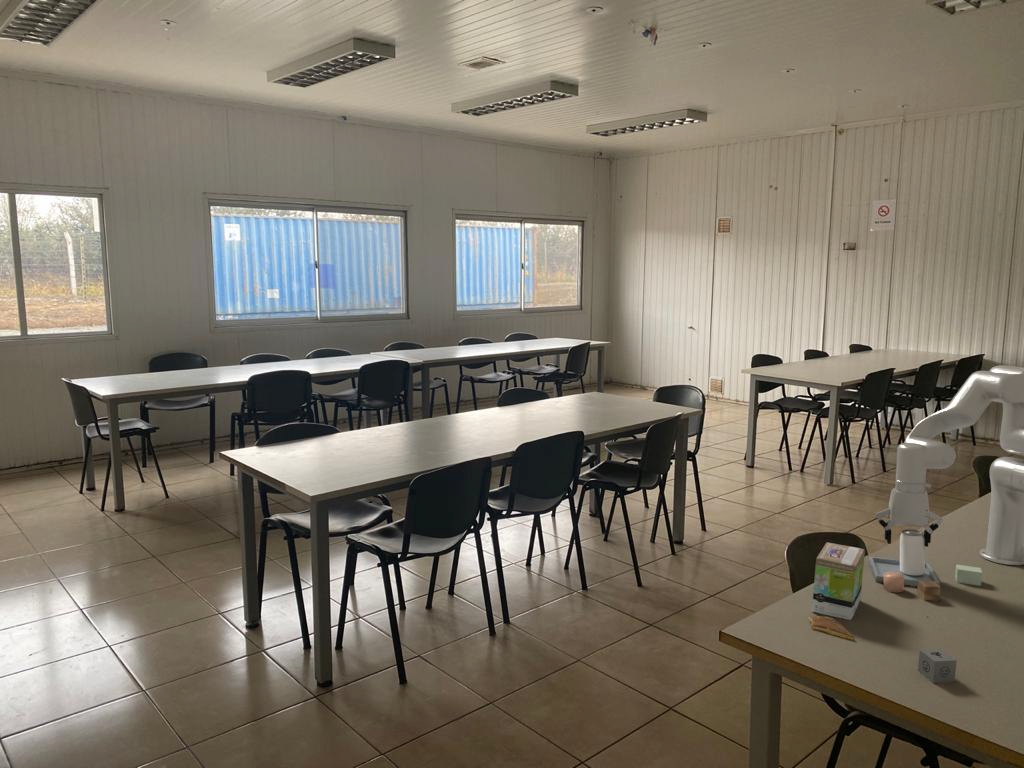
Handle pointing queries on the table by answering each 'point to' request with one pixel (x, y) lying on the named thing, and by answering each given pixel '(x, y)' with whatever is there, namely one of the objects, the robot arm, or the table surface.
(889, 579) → the brown egg
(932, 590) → the walnut block
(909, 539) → the can
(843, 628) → the toasted sandwich
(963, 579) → the sage block
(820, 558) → the tea box
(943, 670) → the dice cube
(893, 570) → the tray
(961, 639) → the table surface
